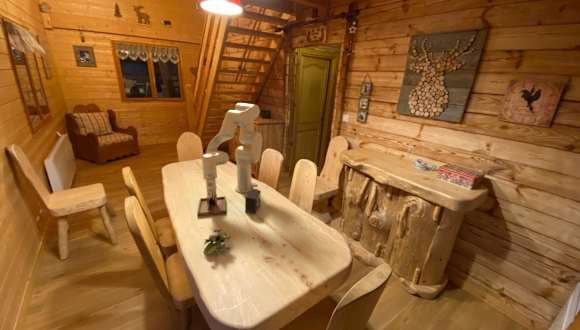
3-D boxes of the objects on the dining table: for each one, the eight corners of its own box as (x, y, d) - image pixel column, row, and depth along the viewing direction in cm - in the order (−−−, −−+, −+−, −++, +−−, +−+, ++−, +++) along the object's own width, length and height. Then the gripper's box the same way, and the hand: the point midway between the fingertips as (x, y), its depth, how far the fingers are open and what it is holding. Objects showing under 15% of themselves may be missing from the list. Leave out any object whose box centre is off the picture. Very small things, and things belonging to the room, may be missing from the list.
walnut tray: (225, 199, 154) (225, 196, 154) (225, 214, 139) (225, 210, 138) (200, 201, 150) (199, 198, 150) (197, 216, 135) (197, 213, 134)
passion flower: (219, 253, 116) (230, 230, 117) (225, 264, 106) (237, 239, 108) (197, 246, 110) (210, 223, 111) (202, 258, 101) (215, 232, 102)
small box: (255, 214, 140) (255, 198, 136) (244, 212, 141) (244, 197, 137) (261, 205, 150) (261, 190, 146) (251, 204, 151) (251, 189, 147)
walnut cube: (217, 200, 147) (216, 192, 145) (216, 205, 142) (216, 196, 140) (207, 201, 145) (207, 193, 143) (207, 205, 140) (206, 197, 138)
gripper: (216, 180, 130) (218, 209, 137) (217, 169, 146) (218, 195, 152) (202, 181, 128) (204, 210, 135) (204, 169, 144) (206, 196, 150)
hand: (212, 202), depth 143 cm, fingers closed on walnut cube, 5 cm apart
